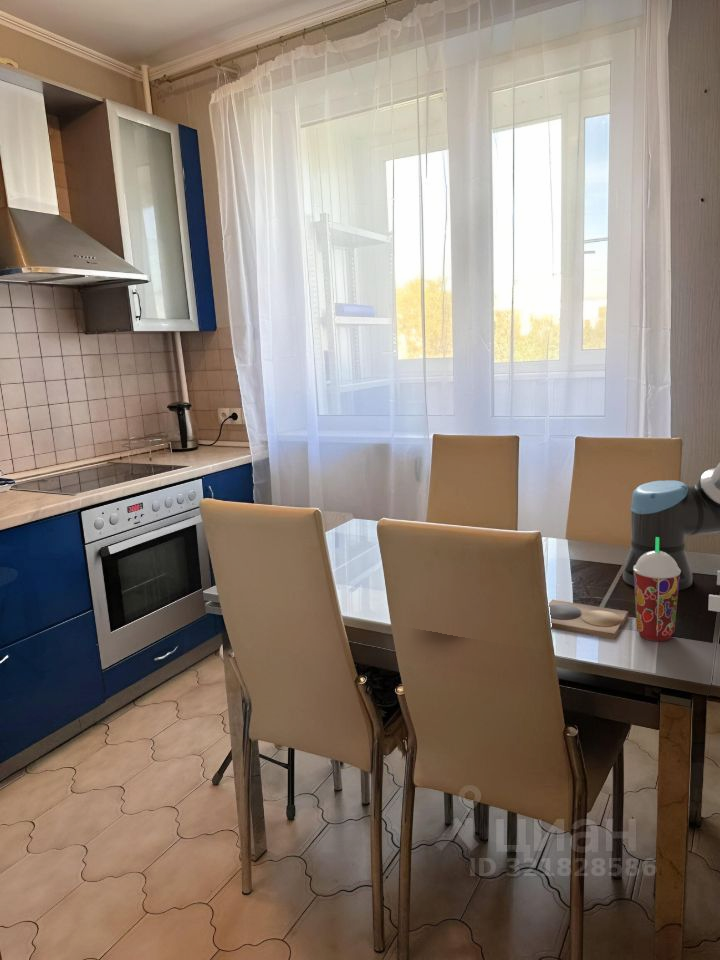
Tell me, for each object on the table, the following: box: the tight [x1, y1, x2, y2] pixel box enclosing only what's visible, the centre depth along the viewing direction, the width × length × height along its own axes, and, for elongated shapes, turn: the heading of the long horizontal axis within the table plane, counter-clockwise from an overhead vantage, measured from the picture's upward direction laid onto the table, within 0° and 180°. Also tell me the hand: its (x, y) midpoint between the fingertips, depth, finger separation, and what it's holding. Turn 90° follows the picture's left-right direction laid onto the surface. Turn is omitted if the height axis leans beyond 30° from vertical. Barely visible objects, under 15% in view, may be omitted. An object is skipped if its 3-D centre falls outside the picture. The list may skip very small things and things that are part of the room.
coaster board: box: [548, 599, 629, 640], centre depth 140 cm, size 12×16×1 cm
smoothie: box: [633, 537, 681, 642], centre depth 129 cm, size 8×8×20 cm
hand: (712, 589), depth 123 cm, fingers open, 13 cm apart
